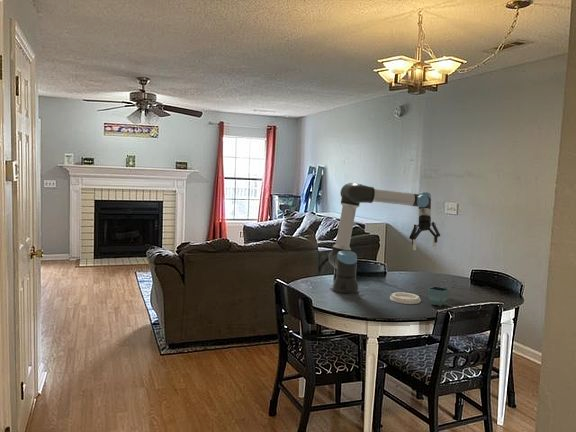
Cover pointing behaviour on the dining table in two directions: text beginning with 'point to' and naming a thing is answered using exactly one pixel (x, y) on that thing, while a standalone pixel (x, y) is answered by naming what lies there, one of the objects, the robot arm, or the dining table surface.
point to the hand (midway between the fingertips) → (424, 248)
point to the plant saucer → (405, 298)
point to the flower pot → (438, 295)
